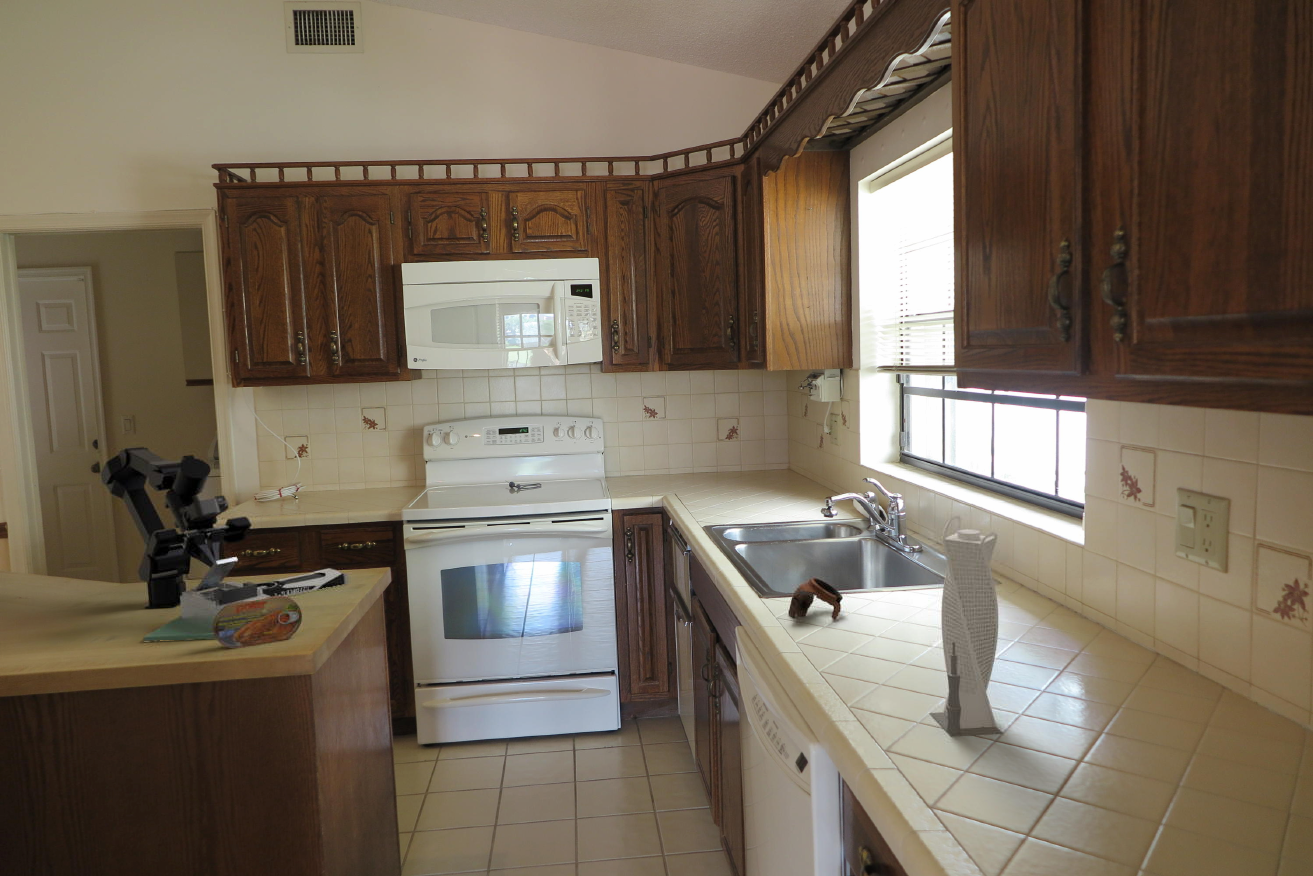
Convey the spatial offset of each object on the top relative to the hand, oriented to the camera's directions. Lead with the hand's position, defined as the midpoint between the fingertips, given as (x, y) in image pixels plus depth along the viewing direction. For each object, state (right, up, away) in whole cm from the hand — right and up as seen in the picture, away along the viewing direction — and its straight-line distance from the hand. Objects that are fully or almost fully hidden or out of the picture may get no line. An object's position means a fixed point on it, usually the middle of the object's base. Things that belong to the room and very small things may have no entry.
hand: (216, 567), depth 167 cm
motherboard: (+1, -11, 0) cm, 11 cm away
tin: (+15, -12, -12) cm, 22 cm away
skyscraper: (+132, -13, -55) cm, 143 cm away
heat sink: (+2, -11, 0) cm, 12 cm away
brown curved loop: (+120, -9, -8) cm, 120 cm away
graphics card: (+4, -10, +24) cm, 26 cm away
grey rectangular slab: (0, -2, 0) cm, 2 cm away
